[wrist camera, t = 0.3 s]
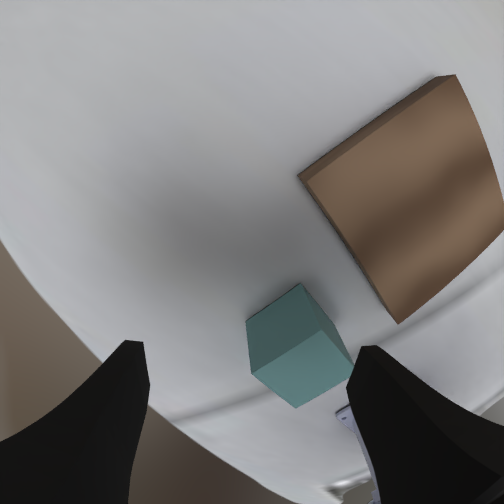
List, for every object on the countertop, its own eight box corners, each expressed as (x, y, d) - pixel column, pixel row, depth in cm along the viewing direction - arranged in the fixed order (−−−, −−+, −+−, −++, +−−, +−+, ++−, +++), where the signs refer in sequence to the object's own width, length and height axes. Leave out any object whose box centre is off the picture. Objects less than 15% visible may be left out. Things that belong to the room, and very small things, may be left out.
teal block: (334, 324, 21) (357, 371, 17) (283, 357, 22) (295, 408, 17) (300, 283, 20) (321, 329, 15) (245, 321, 20) (251, 373, 16)
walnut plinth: (492, 216, 19) (508, 224, 17) (386, 309, 21) (397, 324, 19) (436, 76, 15) (455, 74, 13) (297, 175, 17) (306, 181, 15)
